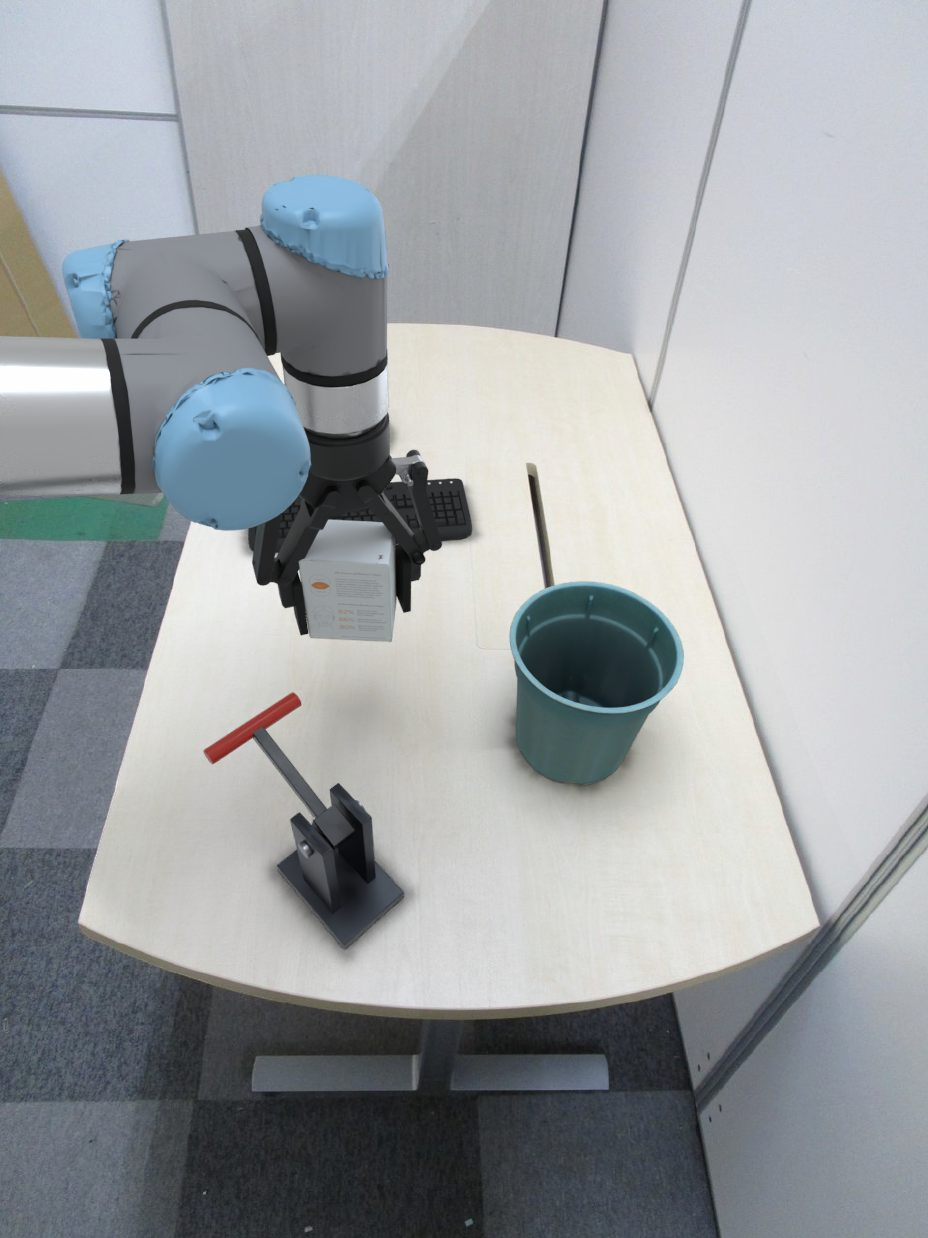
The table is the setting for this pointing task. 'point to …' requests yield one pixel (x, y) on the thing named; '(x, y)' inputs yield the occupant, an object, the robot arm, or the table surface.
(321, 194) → the robot arm
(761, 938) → the table surface
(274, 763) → the lever
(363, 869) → the bracket
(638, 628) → the flower pot
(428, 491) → the keyboard
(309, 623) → the small box
